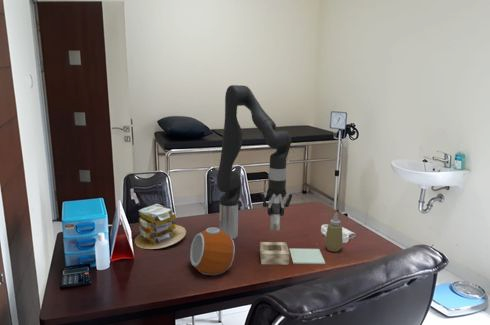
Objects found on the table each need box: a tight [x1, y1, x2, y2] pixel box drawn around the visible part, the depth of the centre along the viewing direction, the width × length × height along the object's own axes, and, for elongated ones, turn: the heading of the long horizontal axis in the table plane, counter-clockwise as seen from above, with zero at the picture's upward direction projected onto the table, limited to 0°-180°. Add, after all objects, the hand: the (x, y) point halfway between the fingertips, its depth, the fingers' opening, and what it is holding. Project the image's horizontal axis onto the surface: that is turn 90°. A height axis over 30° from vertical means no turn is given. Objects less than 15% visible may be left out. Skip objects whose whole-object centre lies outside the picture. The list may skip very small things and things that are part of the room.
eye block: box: [259, 241, 290, 266], centre depth 176 cm, size 12×12×5 cm
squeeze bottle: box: [324, 212, 344, 253], centre depth 185 cm, size 8×8×18 cm
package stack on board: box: [133, 203, 187, 250], centre depth 192 cm, size 25×25×17 cm
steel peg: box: [270, 195, 281, 232], centre depth 172 cm, size 4×4×16 cm
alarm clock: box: [189, 226, 236, 276], centre depth 165 cm, size 19×18×17 cm
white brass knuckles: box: [320, 224, 356, 244], centre depth 203 cm, size 3×18×15 cm
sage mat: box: [288, 247, 326, 265], centre depth 179 cm, size 14×14×1 cm
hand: (275, 215), depth 172 cm, fingers closed on steel peg, 4 cm apart
